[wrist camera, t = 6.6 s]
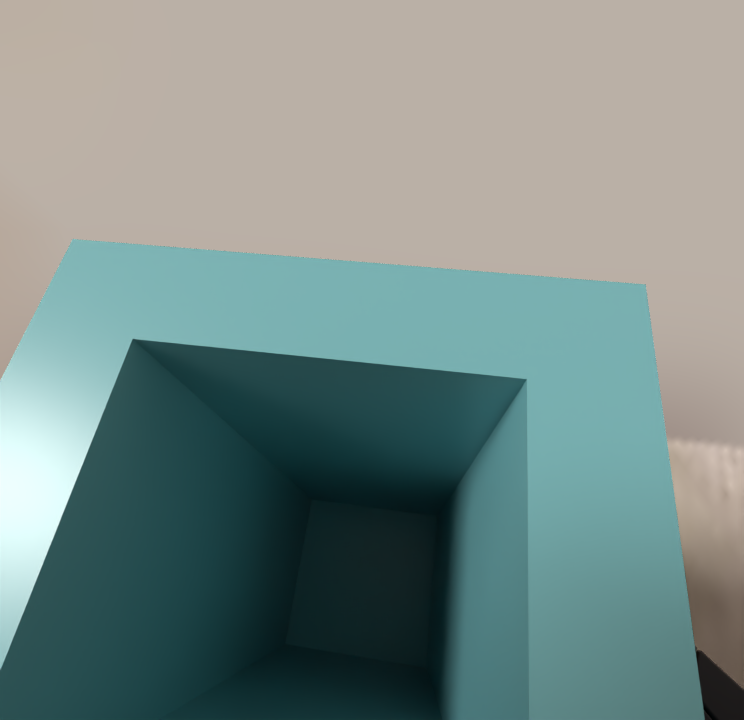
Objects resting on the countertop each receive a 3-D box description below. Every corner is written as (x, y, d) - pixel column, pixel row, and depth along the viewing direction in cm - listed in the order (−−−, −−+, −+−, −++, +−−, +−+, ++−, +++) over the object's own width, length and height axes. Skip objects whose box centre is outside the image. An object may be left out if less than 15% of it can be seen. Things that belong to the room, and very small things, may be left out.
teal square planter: (463, 718, 13) (807, 1465, 2) (244, 679, 14) (-363, 1088, 3) (473, 487, 16) (645, 284, 5) (289, 464, 16) (73, 239, 5)
